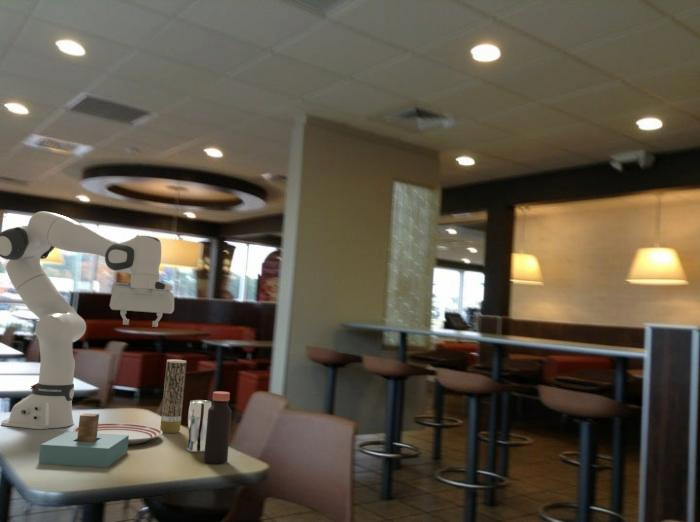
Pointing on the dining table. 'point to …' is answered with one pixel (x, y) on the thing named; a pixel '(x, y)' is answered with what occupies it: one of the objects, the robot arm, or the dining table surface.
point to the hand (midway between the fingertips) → (140, 325)
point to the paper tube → (173, 396)
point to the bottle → (218, 429)
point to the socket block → (83, 450)
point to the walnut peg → (88, 427)
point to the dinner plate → (128, 431)
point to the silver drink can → (197, 425)
